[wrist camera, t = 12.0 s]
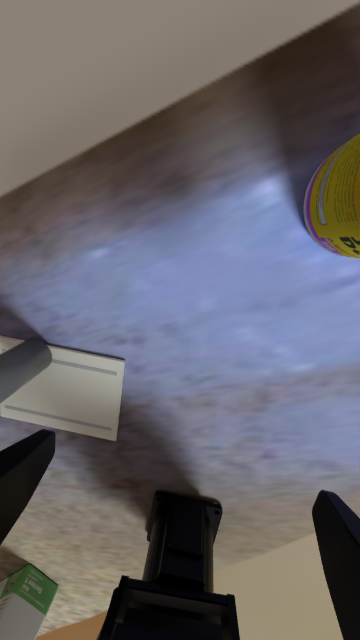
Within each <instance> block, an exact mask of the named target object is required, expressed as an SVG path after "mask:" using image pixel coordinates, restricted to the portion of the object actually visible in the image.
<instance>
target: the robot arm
mask: <svg viewBox="0 0 360 640" xmlns="http://www.w3.org/2000/svg"><path fill="white" fill-rule="evenodd" d="M54 453H55V432H54V431H51V430H47V429H42V430H40V431H38V432H36V433H34V434H32V435H30V436H28V437H26V438H24V439H23V440H21V441H19V442H17V443H15V444H13V445H11V446H9V447H7V448H6V449H4V450H2V451H0V545H1V544H2V542H3V541H4V539H5V538H6V536H7V535H8V533H9V531H10V530H11V528H12V527H13V525H14V524H15V522H16V521H17V519H18V518H19V516H20V515H21V513H22V512H23V510H24V509H25V507H26V506H27V504H28V502H29V500H30V499H31V497H32V495H33V493H34V491H35V490H36V488H37V486H38V484H39V482H40V480H41V478H42V477H43V475H44V473H45V471H46V469H47V467H48V465H49V464H50V462H51V460H52V458H53V456H54ZM221 517H222V506H220V505H218V504H214V503H210V502H205V501H201V500H197V499H192V498H188V497H183V496H179V495H175V494H170V493H166V492H161V491H157V492H155V495H154V500H153V506H152V511H151V517H150V523H149V528H148V534H147V540H148V541H149V542H150V543H149V548H148V553H147V558H146V563H145V568H144V573H143V578H142V580H137V579H131V578H129V576H124V575H122V577H121V580H120V583H119V586H118V588H117V587H116V589H114V591H113V595H112V598H111V602H110V606H109V609H108V612H107V616H106V619H105V621H104V624H103V626H102V628H101V630H100V633H99V635H98V637H97V640H240V637H239V629H238V621H237V614H236V605H235V597H234V595H231V594H227V595H222V594H216V593H213V544H214V541H215V537H216V534H217V531H218V527H219V524H220V520H221ZM312 517H313V522H314V526H315V531H316V536H317V541H318V546H319V551H320V556H321V561H322V565H323V570H324V574H325V577H326V581H327V585H328V588H329V592H330V595H331V599H332V602H333V605H334V609H335V612H336V616H337V619H338V622H339V626H340V629H341V632H342V636H343V639H344V640H360V518H359V517H358V516H357V515H356V514H355V513H354V512H353V511H352V510H351V509H350V508H349V507H348V506H347V505H346V504H345V503H344V502H343V501H342V499H341V498H340V497H339V496H338V495H337V494H335V493H333V492H330V491H325V490H321V491H320V492H319V494H318V496H317V498H316V501H315V503H314V505H313V508H312Z"/></svg>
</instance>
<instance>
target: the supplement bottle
mask: <svg viewBox="0 0 360 640" xmlns="http://www.w3.org/2000/svg"><path fill="white" fill-rule="evenodd" d="M303 213H304V220H305V224H306V227H307V229H308V231H309V233H310V235H311V237H312V238H313V239H314V241H315V242H316V243H317V244H318V245H319V246H321V247H322V248H323V249H325V250H327V251H329V252H331V253H333V254H336V255H341V256H347V257H354V258H360V133H359V134H357V135H356V136H354V137H353V138H352V139H350V140H349V141H347V142H346V143H344V144H343V145H341V146H340V147H339V148H338V149H336V150H335V151H334V152H333V153H331V154H330V155H329V156H328V157H327V158H326V159H325V160H324V161H323V162H322V163H321V165H320V166H319V167H318V168H317V170H316V171H315V173H314V174H313V176H312V178H311V180H310V182H309V184H308V187H307V189H306V193H305V198H304V206H303Z"/></svg>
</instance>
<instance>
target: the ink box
mask: <svg viewBox="0 0 360 640" xmlns="http://www.w3.org/2000/svg"><path fill="white" fill-rule="evenodd" d="M57 589H58V586H57V585H56V584H55V583H53V582H52V581H51V580H49V579H48V578H47V577H46V576H44V575H43V574H42V573H41V572H39V571H38V570H37V569H35V568H34V567H33V566H32V565H30V564H29V565H27V566H26V567H24V568H22V569H21V570H19V571H18V572H16V573H14V574H13V575H11V576H9V577H8V578H6V579H4V580H3V581H1V582H0V640H35V639H36V637H37V635H38V633H39V630H40V628H41V626H42V624H43V621H44V619H45V617H46V614H47V612H48V610H49V607H50V605H51V603H52V601H53V599H54V596H55V594H56V592H57Z"/></svg>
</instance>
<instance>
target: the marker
mask: <svg viewBox="0 0 360 640" xmlns="http://www.w3.org/2000/svg"><path fill="white" fill-rule="evenodd" d="M51 361H52V353H51V351H50V349H49V347H48V346H47V345H46V344H45V343H44V342H42V341H40V340H38V339H28V340H26V341H24V342H22V343H20V344H18V345H17V346H15V347H13V348H11V349H9V350H7V351H5V352H3V353H2V354H0V403H2V402H3V401H4V400H6V399H7V398H8V397H9V396H11V395H12V394H13V393H15V392H16V391H17V390H19V389H20V388H21V387H22V386H24V385H25V384H26V383H28V382H29V381H30V380H32V379H33V378H34V377H35V376H37V375H38V374H39V373H41V372H42V371H43V370H45V369H46V368H47V367H48V366H49V365H50V364H51Z"/></svg>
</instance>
